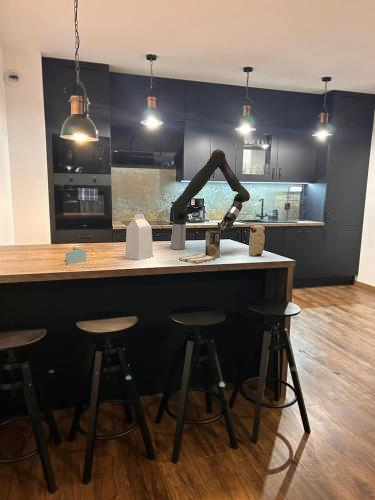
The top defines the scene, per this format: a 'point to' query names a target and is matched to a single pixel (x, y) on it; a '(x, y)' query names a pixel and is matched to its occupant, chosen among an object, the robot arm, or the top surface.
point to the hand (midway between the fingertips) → (219, 235)
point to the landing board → (197, 258)
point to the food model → (256, 240)
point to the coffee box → (212, 244)
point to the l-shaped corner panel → (75, 256)
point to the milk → (139, 239)
